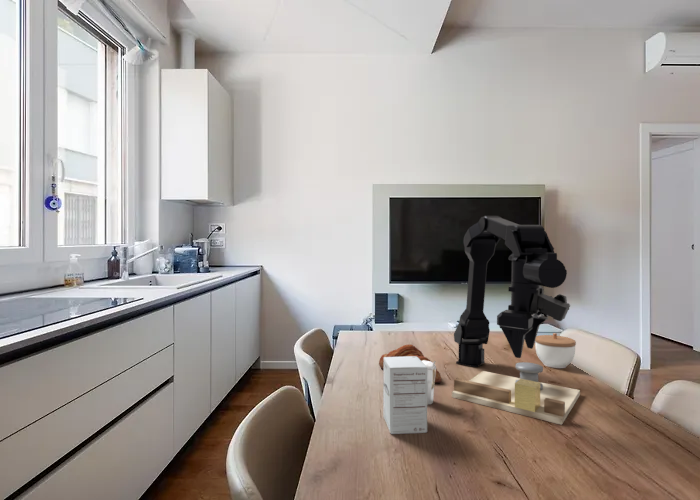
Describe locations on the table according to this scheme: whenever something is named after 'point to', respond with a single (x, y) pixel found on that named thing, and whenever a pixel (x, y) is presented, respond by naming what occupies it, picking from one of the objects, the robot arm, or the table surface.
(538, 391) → the tab
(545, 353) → the lidded jar
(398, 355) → the pastry
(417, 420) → the supplement box
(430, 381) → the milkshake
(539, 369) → the grey rounded knob
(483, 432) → the table surface
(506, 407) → the board
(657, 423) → the table surface
